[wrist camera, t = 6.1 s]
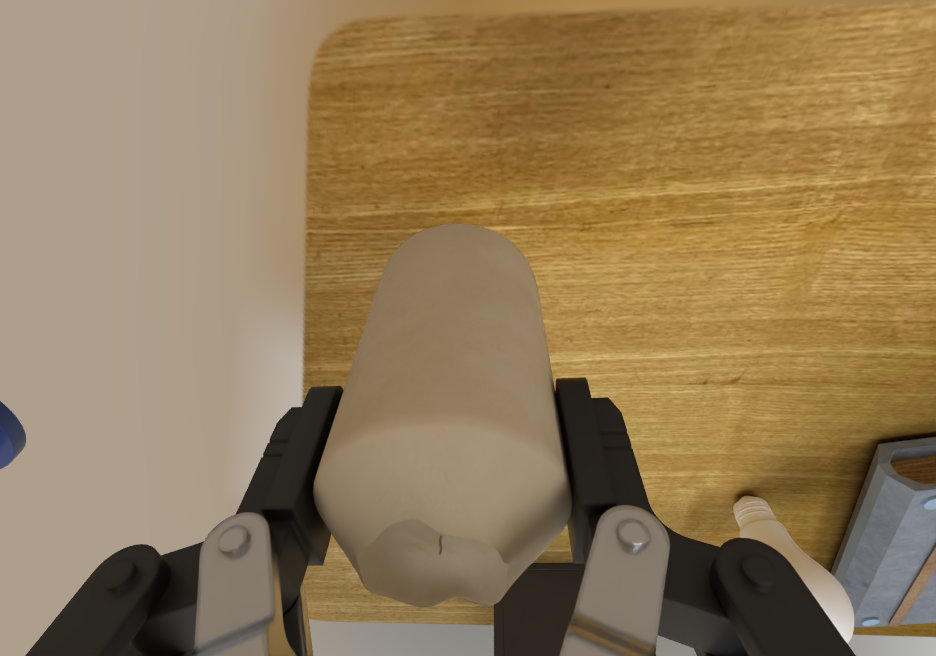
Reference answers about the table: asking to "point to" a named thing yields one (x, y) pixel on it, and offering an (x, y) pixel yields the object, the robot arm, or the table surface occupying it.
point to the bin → (537, 610)
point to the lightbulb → (796, 561)
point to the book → (893, 539)
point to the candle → (448, 426)
